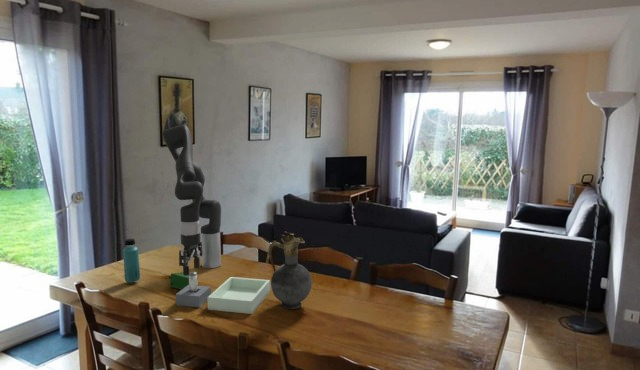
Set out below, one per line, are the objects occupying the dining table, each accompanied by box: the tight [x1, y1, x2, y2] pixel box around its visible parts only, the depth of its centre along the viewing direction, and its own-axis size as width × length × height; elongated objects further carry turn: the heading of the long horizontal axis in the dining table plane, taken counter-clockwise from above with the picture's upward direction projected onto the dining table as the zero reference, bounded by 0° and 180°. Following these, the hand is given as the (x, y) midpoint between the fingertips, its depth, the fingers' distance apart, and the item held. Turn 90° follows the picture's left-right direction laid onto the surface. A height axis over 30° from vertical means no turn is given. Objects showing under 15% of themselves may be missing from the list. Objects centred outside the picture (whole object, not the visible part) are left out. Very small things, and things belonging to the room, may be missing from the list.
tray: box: [207, 276, 271, 315], centre depth 175 cm, size 22×18×5 cm
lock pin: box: [188, 270, 199, 293], centre depth 173 cm, size 3×3×12 cm
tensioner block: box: [175, 285, 212, 308], centre depth 174 cm, size 10×10×4 cm
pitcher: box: [267, 231, 313, 310], centre depth 169 cm, size 11×19×30 cm, turn 57°
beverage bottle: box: [122, 238, 141, 283], centre depth 191 cm, size 6×7×20 cm
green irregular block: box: [169, 272, 199, 291], centre depth 188 cm, size 12×6×9 cm, turn 56°
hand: (191, 271), depth 172 cm, fingers open, 8 cm apart
